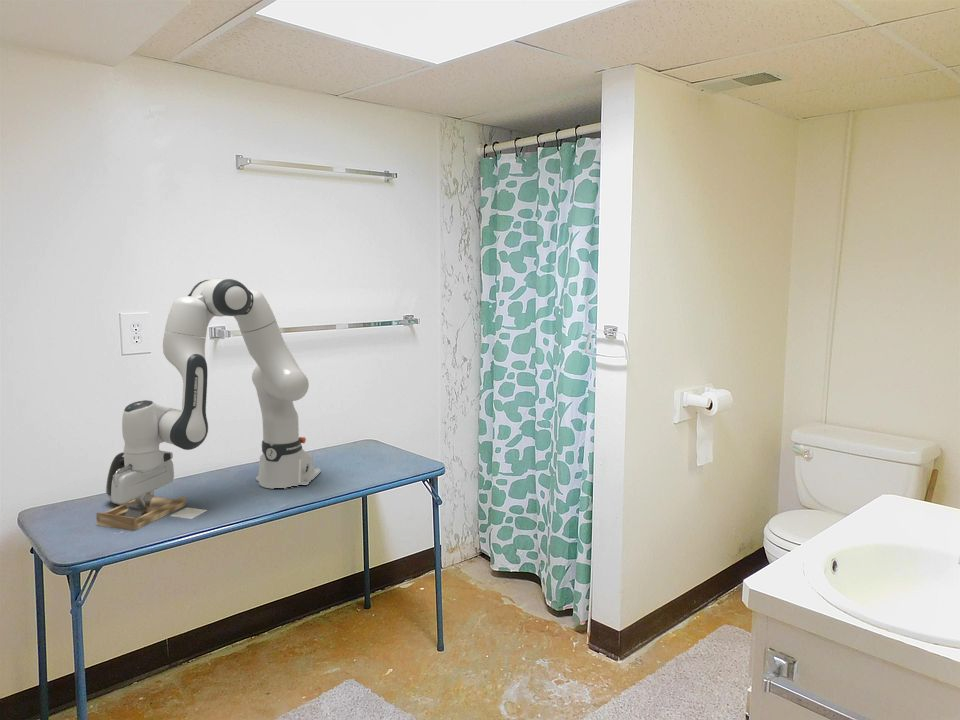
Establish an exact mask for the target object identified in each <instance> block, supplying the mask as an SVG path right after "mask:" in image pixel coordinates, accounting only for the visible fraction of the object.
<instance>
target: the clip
mask: <svg viewBox="0 0 960 720" xmlns="http://www.w3.org/2000/svg"><path fill="white" fill-rule="evenodd" d="M126 507H127V508H128V510H127V512H126V514H125V516H126V517H133V518H135V519H136V518H138V517H140V516H142V515H144V514H145V512H146V510H147V508H146V507H145V506H143V505H140V504H133V503H127V504H126Z"/></svg>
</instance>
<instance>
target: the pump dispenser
mask: <svg viewBox="0 0 960 720" xmlns="http://www.w3.org/2000/svg"><path fill="white" fill-rule="evenodd" d="M123 467H125V465H124V451H122V452H119V453H117V454H116V455H115V457H114V458H113V459H112V462H111V464H110V467H109V470H108V474H107V478H106V487H105V493H106V496H108V499H109V500H110V502H112V503H113V504H114V505H118V506H120V505H123V504H119V503H114V502H113V501H112V500H111V486H112V480H113V475H114V474H115V472H116V471H117V470H118V469H120V468H123ZM133 500H134V499H133ZM131 501H132V500H131ZM129 502H130V501H129ZM126 503H127V502H126ZM124 504H125V503H124Z"/></svg>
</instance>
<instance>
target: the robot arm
mask: <svg viewBox="0 0 960 720" xmlns="http://www.w3.org/2000/svg"><path fill="white" fill-rule="evenodd" d="M168 312H169V313H168V317H167V320H166V323H165V329H164V333H163V337H162V339H163V340H162V349H163V351H162V353H163V355H164V358H165V359H166V360H167V361H168V362H169V363H170V364H171V365H172V367H173V366H174V368H175V369H176V370H177V371H178V373H179V374H180V376H181V378H182V400H181V401H182V402H181V410H180V409H177V408H173V407H167V406H163V405H160V404H157V403H155V402H154V401H152V400H146V399H145V400H144V399H143V400H138V401H134V402H132V403H130V404H128V405H126V406H125V408H124V409H123V411H122V412H123V414H122V419H121V421H122V423H121V424H122V425H121V427H122V429H121V431H122V439H123V441H124V446H123V452H124V465H125V467H123V468H120V469H118V470H117V471H116V472H115V474H114V475H113V480H112V486H111V500H112V501H113V502H114V503H113V502H112V501H111V500H110V501H111V502H112V503H113V504H115V503H119V504H124V503H126V502H129V501H131V500H133V499H135V500H136V502H137V503H138V504H140V505H143V506H145V507H146V508H149V507H151V500H152V498H153V495H154V496H155V491H156V490H158V489H159V488H162V487H164V486H166V485H169V484H171V483H173V480H174V478H175V472H174V471H175V470H174V462H173V461H172V459H173V458H174V455H173V454H174V453H173V452H172V451H166V450H160V444H161V443H167V444H170V445H173V446H175V447H178V448H180V449H182V450H185V451H190V450H194V449H196V448H199V446H201V445H202V444H203V443H204V441H205V440H206V438H207V436H208V433H209V422H208V419H207V394H208V393H207V391H208V363H207V361H206V354H205V353H206V338H207V333H208V332H207V331H208V327H209V324H210V322H211V320H212V319H213V318H214V317H226V316H227V317H233V318H234V319H235V321H236V322H237V325H238V328H239V331H240V333H241V335H242V338H243V341H244V343H245V346H246V349H247V351H248V354H249V355H250V356H251V357H252V359H253V360H254V361H255V363H256V366H255V368H254V369H253V370H252V371H253V372H252V374H251V381H252V384H253V385H254V387H255V391H256V395H257V397H258V402H259V403H258V404H259V407H260V412H261V418H262V419H261V420H262V440H261V455H260V456H259V462H258V463H259V464H258V475H257V476H256V477H255V481H257V482H258V485H259V486H261V487H262V488H266V489H274V488H284V489H287V488H286V487H291V486H295V485H302V484H307V483H309V482H310V481H311V480H312V479H313V478H314V477H315V476H316V475H317V474H318V473H319V472H320V470H321V469H320V468H319V467H315V466H314V465H315V464H314V458H313V456H312V455H311V454H310V453H309V452H307V451H305V450H304V449H303V446H302V444H305V443H306V441H307V438H306V437H305V436H302V437H301V436H300V435H299V431H300V430H299V413H298V412H297V410H296V408H295V405H294V402H296V401H299V400H301V399H303V398H304V397H305V396H306V394H307V392H308V390H309V387H310V386H309V379H308V377H307V375H306V374H305V373H304V372H303V371H302V369H301V368H300V367H299V365H298V363H297V362H296V359H295V357H294V356H293V354H292V352H291V351H290V349H289V348H288V346H287V345H286V344H287V343H286V342H285V340H284V338H283V335H282V333H281V330H280V326H279V325H278V322H277V319H276V316H275V314H274V312H273V310H272V308H271V306H270V304H269V302H268V299H267V298H266V297H265V295H264V294H263V293H262V292H260V291H259V290H256V289H248V288H247V287H246V285H244V284H243V283H242V282H240V281H239V280H237V279H232V278H230V279H229V278H213V279H204V280H200V281H199V282H198V283H196V285H194V286H193V288H192V289H191V290H190V293H189V294H188V295H184V296H180V297H178V298H176V299H175V300H173V303H172V305H171V307H170V310H169V311H168ZM314 468H317V469H314ZM291 488H292V487H291ZM144 495H145V499H144V500H143V498H144Z"/></svg>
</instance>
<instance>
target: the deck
mask: <svg viewBox="0 0 960 720" xmlns="http://www.w3.org/2000/svg"><path fill="white" fill-rule="evenodd" d="M145 495H146V494H144V498H143V500H144V499H145ZM186 499H187V498H186V496H185V495H184V496H182V495H181V497H178V498H168V497H162V496H160V497H159V496H155V494H154V495H153V498H152V500H151V507H149V508H147V510H146V512H145V514H144V515H142V516H140V517H138V518H136V519H135V518H133V517H126V516H125V514H126V512H127V510H128V508H127V507H126V504H127V503H133V504H138V503H137V502H136V500H135V499H134V500H132V501H130V502H127V503H125V504H123V505H118V506H116V507H114V508H112V509H108V510H107V511H105V512H96V513H95V514H96V516H95V517H96V525H97V526H101V527H108V528H113V529H114V528H115V529H122V530H128V531H136V530H138V529H140V528H143V527H145V526H148V525H149V524H150V523H153V522H155V521H156V520H160V519H161V518H162V517H165V516H166V515H169V514H172V513H173V512H175V511H177V510H179V509H181V508H183V507H185V506H186V505H187V503H186V502H187V501H186Z"/></svg>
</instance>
